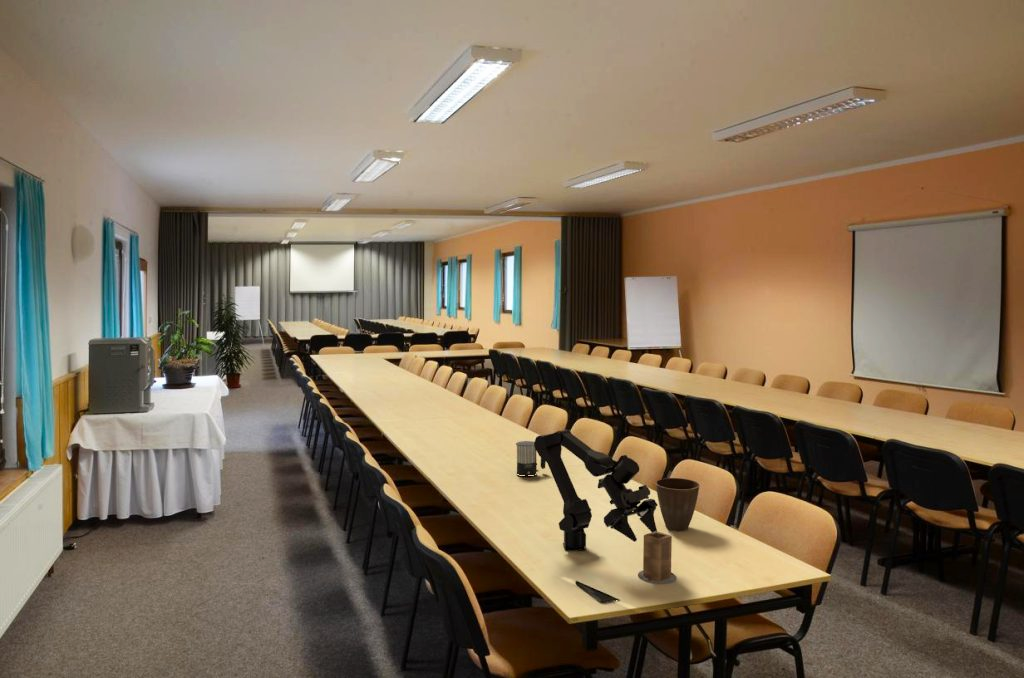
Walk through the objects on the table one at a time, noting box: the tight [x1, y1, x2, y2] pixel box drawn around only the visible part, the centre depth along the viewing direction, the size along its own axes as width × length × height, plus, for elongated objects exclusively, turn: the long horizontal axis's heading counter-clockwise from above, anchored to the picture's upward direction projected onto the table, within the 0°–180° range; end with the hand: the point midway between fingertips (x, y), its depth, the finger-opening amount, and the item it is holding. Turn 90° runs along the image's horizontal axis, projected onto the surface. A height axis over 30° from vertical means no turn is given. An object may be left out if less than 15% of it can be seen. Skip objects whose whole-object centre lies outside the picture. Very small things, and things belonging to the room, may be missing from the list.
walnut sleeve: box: [642, 530, 673, 582], centre depth 205 cm, size 6×6×12 cm
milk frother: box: [515, 440, 547, 476], centre depth 329 cm, size 14×16×15 cm
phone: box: [575, 580, 621, 604], centre depth 198 cm, size 8×1×15 cm
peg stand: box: [637, 570, 677, 585], centre depth 206 cm, size 11×11×4 cm
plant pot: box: [655, 477, 700, 532], centre depth 251 cm, size 15×15×16 cm
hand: (646, 537), depth 208 cm, fingers open, 9 cm apart
